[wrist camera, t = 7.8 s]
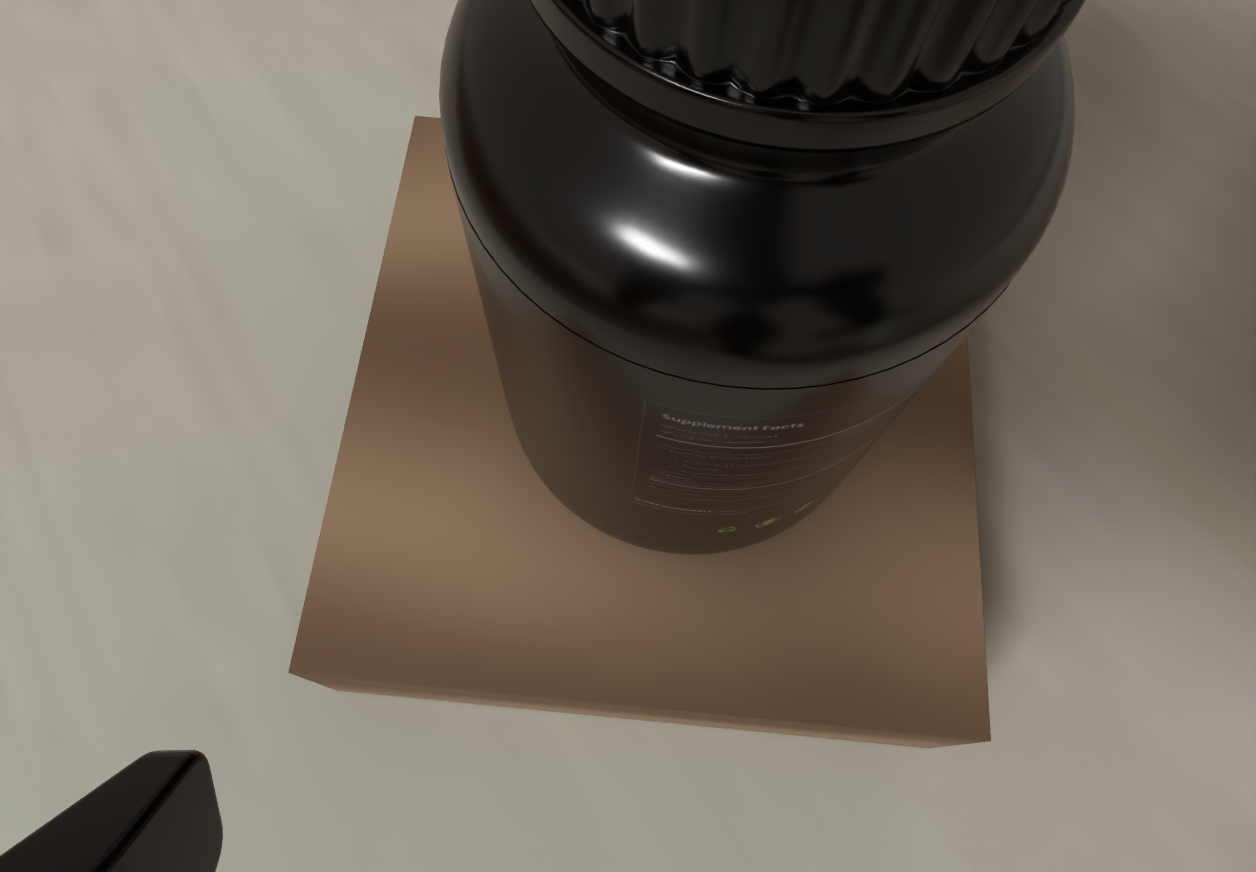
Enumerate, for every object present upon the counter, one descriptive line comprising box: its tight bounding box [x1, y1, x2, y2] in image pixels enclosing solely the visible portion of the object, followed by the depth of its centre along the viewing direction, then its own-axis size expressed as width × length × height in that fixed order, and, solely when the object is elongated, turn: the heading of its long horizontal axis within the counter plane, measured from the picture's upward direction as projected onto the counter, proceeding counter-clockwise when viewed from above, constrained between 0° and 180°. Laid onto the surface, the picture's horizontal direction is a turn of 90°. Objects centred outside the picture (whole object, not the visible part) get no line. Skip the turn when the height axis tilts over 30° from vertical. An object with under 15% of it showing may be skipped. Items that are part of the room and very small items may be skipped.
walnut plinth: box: [288, 116, 991, 748], centre depth 19 cm, size 12×12×3 cm
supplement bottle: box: [439, 0, 1085, 555], centre depth 12 cm, size 7×7×12 cm
